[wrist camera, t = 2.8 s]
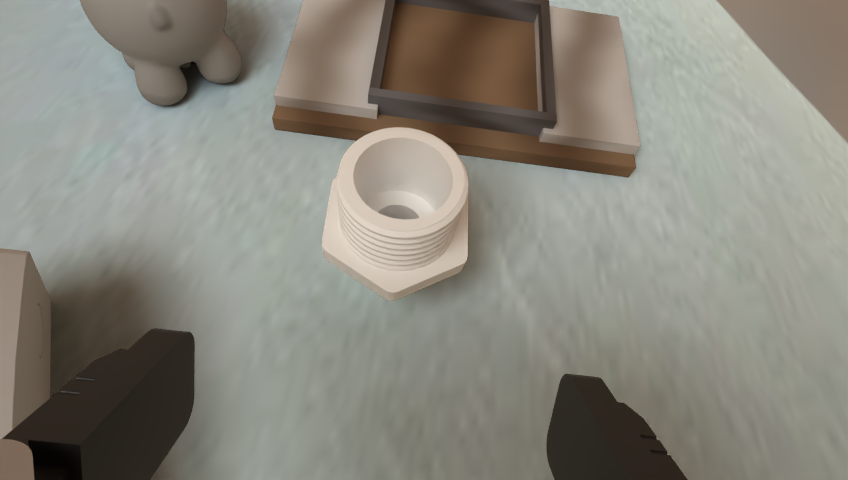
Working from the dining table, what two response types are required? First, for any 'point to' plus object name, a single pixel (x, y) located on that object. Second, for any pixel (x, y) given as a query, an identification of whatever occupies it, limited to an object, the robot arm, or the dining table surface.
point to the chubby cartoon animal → (167, 42)
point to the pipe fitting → (398, 212)
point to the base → (465, 79)
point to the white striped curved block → (23, 339)
